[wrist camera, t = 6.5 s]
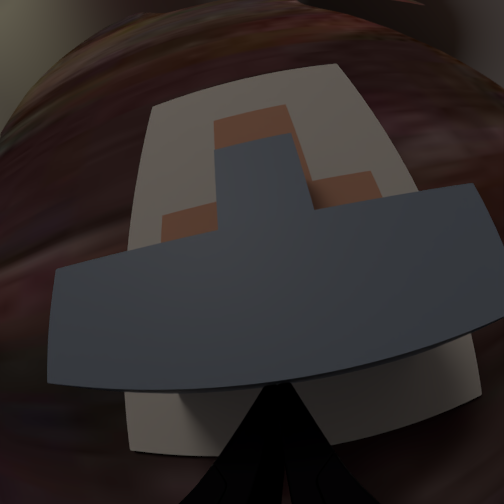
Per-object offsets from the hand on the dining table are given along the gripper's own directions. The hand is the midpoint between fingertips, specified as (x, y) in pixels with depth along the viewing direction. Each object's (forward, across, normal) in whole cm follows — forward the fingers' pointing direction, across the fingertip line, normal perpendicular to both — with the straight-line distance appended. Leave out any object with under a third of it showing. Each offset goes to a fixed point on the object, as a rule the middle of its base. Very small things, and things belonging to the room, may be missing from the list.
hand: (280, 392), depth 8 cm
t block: (+10, 0, 0) cm, 10 cm away
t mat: (+15, 0, -4) cm, 15 cm away
